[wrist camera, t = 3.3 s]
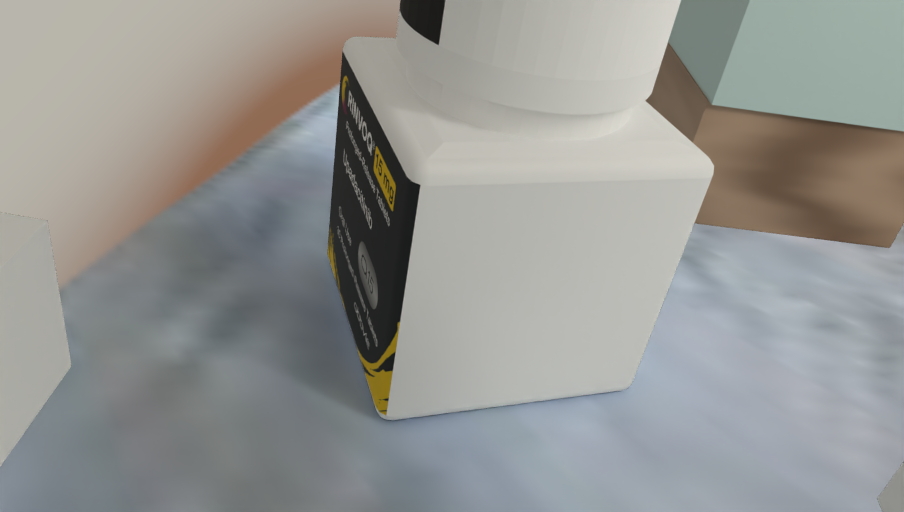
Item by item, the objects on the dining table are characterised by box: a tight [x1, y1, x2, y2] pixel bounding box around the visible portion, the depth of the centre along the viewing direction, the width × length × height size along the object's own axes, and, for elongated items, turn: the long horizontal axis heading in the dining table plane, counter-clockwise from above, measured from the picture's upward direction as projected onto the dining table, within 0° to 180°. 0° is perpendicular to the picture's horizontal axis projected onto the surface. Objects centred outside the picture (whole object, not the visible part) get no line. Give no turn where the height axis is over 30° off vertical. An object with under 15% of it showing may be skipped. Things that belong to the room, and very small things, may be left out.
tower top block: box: [668, 0, 904, 131], centre depth 29 cm, size 9×9×5 cm
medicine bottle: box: [327, 0, 714, 420], centre depth 19 cm, size 7×7×12 cm
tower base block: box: [645, 42, 904, 248], centre depth 32 cm, size 9×9×5 cm
